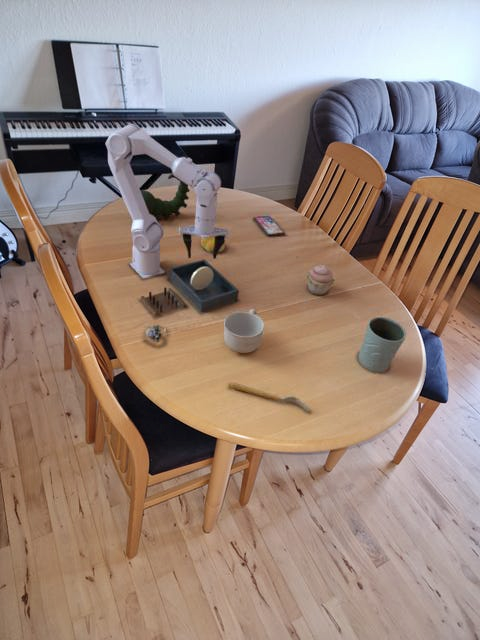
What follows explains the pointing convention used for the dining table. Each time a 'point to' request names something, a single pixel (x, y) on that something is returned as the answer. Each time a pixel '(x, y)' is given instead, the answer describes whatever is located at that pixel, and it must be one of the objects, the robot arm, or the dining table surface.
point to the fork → (268, 395)
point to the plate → (201, 278)
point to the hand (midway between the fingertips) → (201, 256)
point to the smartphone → (268, 226)
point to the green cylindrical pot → (381, 343)
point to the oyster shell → (154, 332)
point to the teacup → (243, 331)
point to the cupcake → (320, 279)
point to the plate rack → (163, 302)
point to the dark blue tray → (208, 297)
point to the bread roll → (210, 244)
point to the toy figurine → (166, 207)
